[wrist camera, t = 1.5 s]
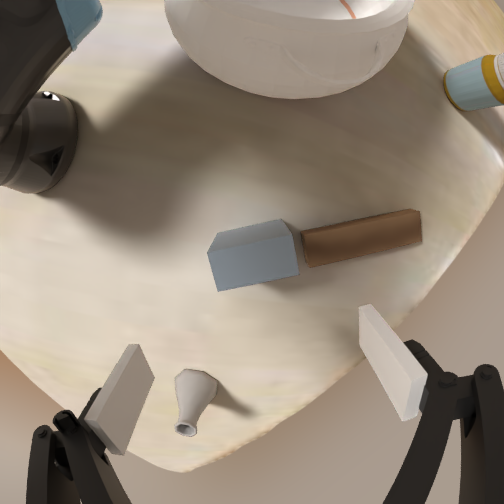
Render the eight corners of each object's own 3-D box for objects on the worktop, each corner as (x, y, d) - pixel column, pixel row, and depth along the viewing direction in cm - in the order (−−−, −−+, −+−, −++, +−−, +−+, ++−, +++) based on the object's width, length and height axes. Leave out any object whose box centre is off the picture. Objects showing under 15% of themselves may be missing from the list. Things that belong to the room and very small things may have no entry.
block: (300, 231, 35) (304, 235, 32) (410, 208, 34) (419, 211, 32) (305, 261, 36) (309, 267, 33) (412, 236, 35) (421, 240, 33)
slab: (217, 232, 35) (207, 252, 26) (281, 218, 34) (292, 234, 26) (225, 263, 36) (217, 291, 27) (287, 249, 35) (299, 274, 27)
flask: (225, 378, 41) (219, 425, 31) (209, 405, 43) (202, 449, 33) (181, 361, 40) (166, 406, 30) (169, 390, 42) (155, 433, 32)
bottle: (441, 101, 30) (511, 84, 15) (440, 63, 28) (502, 37, 13) (471, 118, 30) (539, 110, 15) (470, 81, 28) (533, 65, 14)
